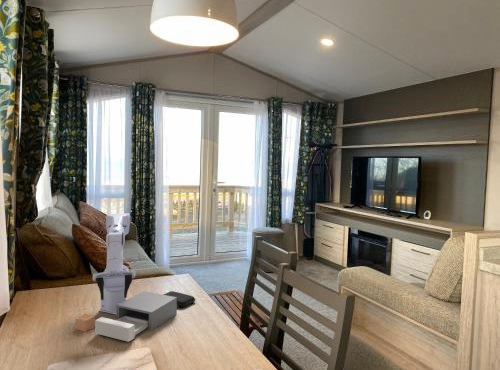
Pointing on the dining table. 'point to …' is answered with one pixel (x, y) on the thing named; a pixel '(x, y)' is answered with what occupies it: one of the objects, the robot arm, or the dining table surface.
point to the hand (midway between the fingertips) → (113, 298)
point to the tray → (120, 327)
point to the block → (85, 322)
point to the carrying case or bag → (181, 299)
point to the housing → (148, 308)
